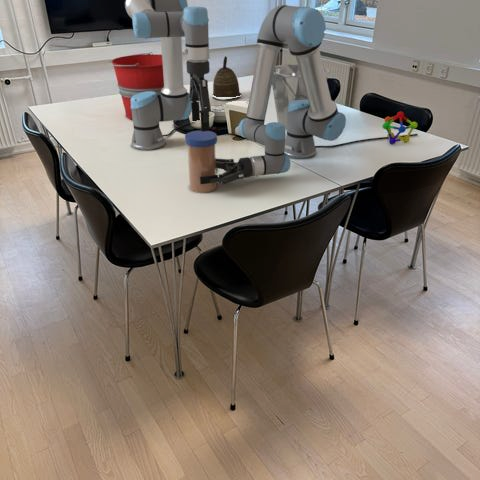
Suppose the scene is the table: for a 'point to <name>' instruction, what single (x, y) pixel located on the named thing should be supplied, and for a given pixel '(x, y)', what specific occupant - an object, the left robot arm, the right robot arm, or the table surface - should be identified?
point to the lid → (201, 138)
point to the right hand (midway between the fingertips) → (196, 173)
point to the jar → (201, 167)
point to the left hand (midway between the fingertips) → (200, 125)
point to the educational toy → (398, 128)
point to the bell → (225, 82)
